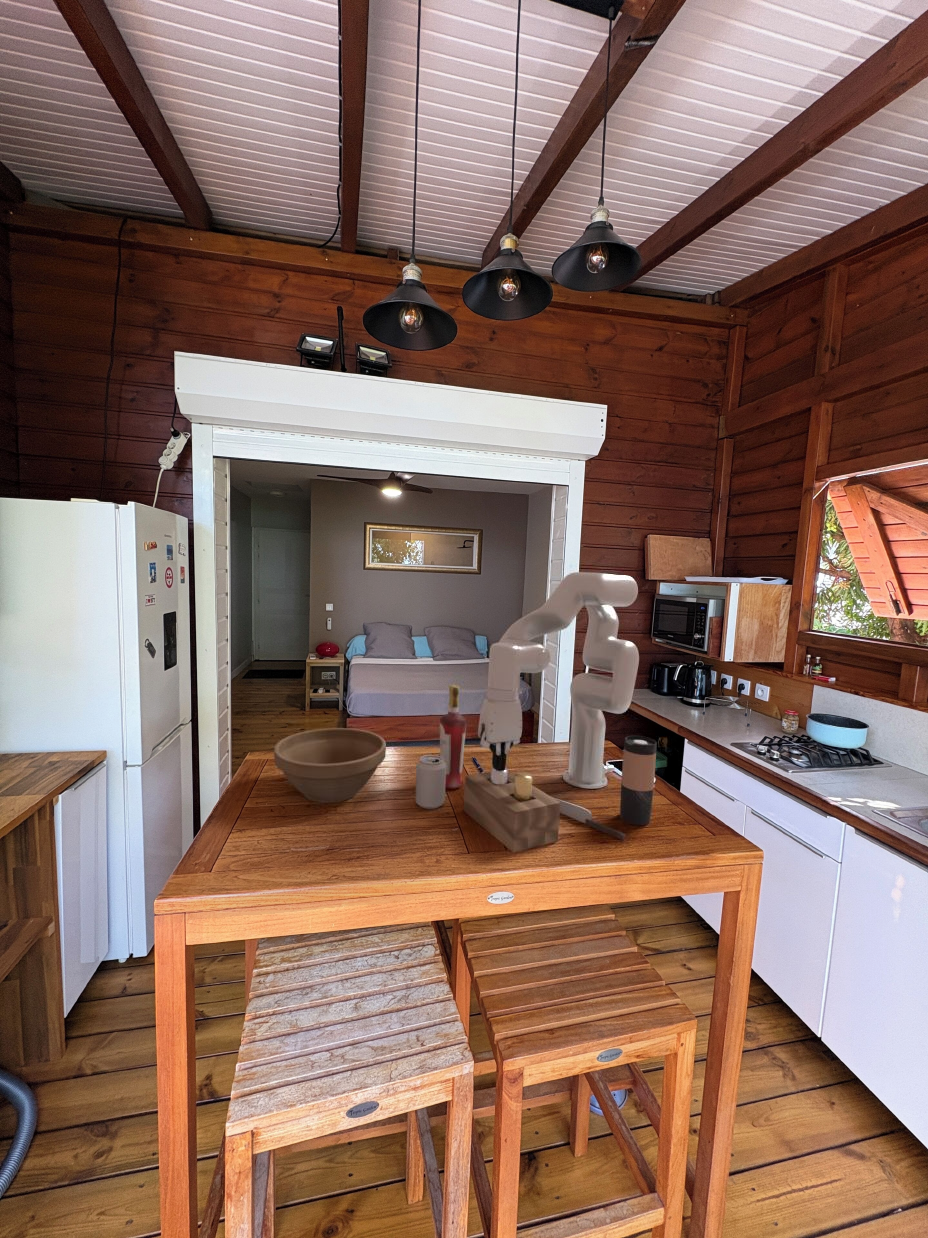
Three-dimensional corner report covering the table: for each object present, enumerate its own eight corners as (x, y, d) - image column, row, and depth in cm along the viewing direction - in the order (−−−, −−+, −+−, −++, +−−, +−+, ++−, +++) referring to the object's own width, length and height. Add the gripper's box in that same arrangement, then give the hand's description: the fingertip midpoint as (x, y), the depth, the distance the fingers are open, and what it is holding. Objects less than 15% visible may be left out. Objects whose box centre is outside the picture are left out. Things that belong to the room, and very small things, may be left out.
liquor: (433, 782, 151) (437, 684, 149) (457, 779, 154) (462, 683, 151) (442, 792, 144) (446, 690, 142) (467, 789, 147) (472, 689, 145)
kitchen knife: (626, 826, 123) (526, 781, 144) (624, 827, 122) (523, 782, 144) (624, 843, 123) (524, 796, 145) (622, 845, 123) (522, 797, 144)
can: (440, 812, 133) (442, 764, 132) (411, 808, 134) (413, 761, 133) (447, 799, 140) (449, 755, 139) (420, 796, 142) (421, 751, 141)
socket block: (504, 802, 140) (505, 769, 139) (557, 841, 121) (560, 802, 120) (463, 810, 134) (465, 775, 133) (513, 853, 115) (515, 812, 114)
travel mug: (651, 815, 136) (656, 738, 134) (651, 828, 129) (657, 747, 127) (619, 809, 139) (625, 733, 137) (618, 822, 131) (623, 742, 130)
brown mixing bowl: (320, 828, 122) (321, 772, 121) (250, 793, 139) (251, 743, 138) (406, 791, 145) (408, 743, 144) (337, 764, 162) (338, 721, 161)
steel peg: (500, 798, 134) (501, 764, 133) (509, 804, 131) (510, 770, 130) (486, 800, 132) (488, 767, 132) (495, 807, 129) (496, 772, 128)
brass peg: (523, 806, 125) (525, 771, 125) (534, 813, 122) (536, 777, 121) (509, 809, 123) (511, 773, 123) (519, 816, 120) (521, 779, 119)
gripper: (519, 689, 136) (515, 760, 137) (468, 693, 129) (464, 767, 130) (537, 696, 129) (532, 770, 131) (484, 700, 122) (480, 778, 124)
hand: (498, 768), depth 131 cm, fingers closed
